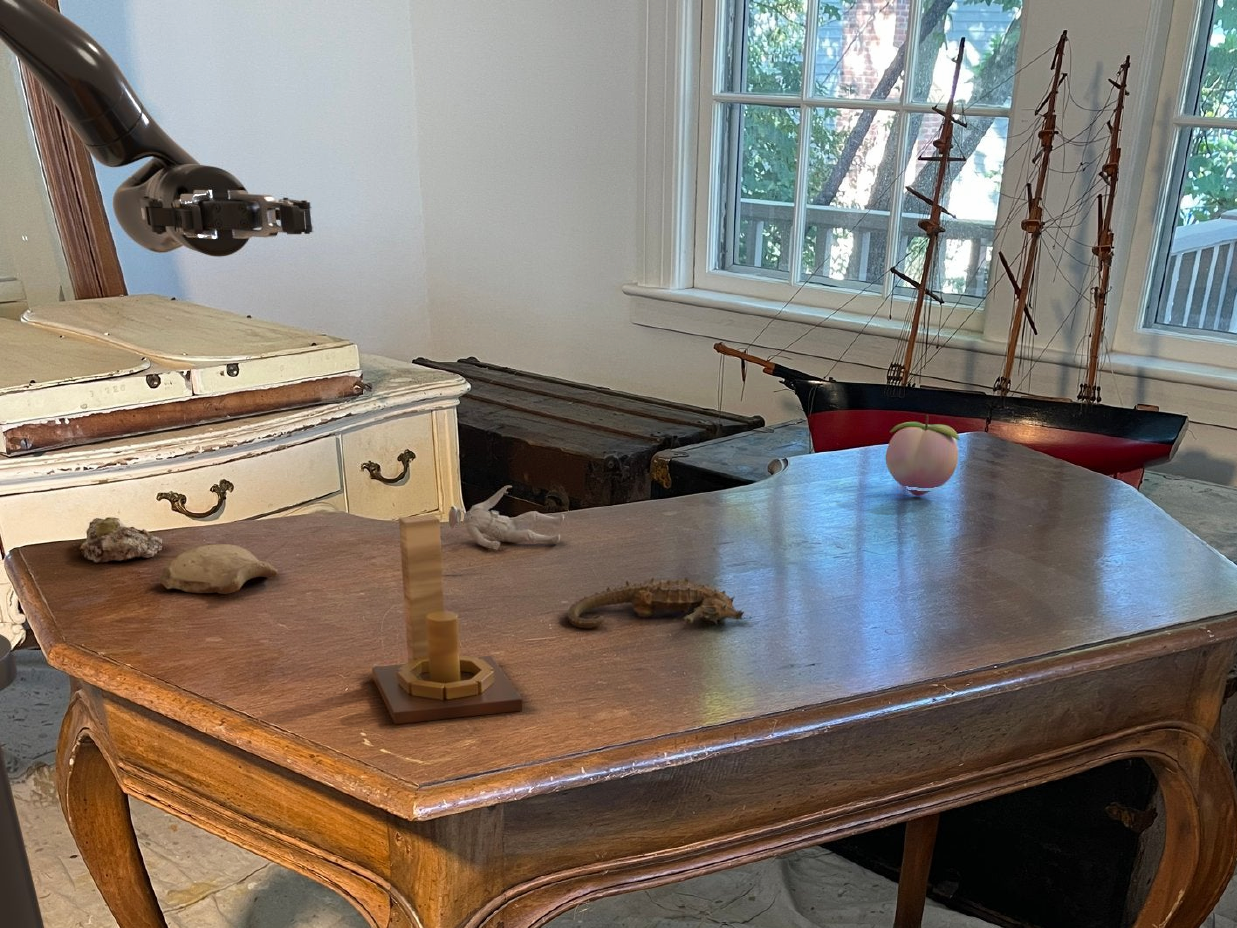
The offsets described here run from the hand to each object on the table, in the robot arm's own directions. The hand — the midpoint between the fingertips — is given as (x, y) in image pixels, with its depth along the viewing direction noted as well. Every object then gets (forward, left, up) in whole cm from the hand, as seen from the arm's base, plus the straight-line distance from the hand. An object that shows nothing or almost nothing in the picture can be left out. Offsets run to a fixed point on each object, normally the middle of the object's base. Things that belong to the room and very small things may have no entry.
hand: (248, 220), depth 111 cm
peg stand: (+9, -32, -32) cm, 46 cm away
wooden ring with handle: (+9, -32, -31) cm, 45 cm away
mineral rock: (-15, +16, -32) cm, 39 cm away
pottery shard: (-5, +2, -32) cm, 33 cm away
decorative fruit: (+82, +19, -32) cm, 90 cm away
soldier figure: (+25, +10, -32) cm, 42 cm away
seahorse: (+32, -19, -32) cm, 49 cm away
